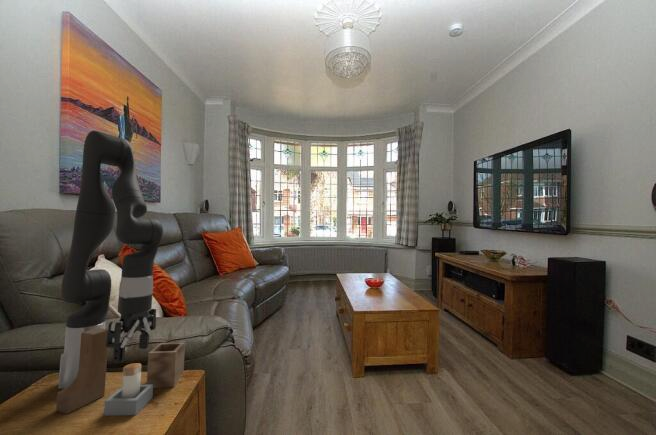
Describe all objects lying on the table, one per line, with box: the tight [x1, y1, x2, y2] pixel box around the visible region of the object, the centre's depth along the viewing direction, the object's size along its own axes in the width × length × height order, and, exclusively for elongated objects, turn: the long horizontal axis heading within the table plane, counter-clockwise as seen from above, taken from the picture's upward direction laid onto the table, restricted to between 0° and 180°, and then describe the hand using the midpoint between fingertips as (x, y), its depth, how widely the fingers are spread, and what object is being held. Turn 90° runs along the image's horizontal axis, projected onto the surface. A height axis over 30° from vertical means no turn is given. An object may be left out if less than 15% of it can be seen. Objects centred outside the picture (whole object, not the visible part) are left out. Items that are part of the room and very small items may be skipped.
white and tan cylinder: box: [121, 362, 142, 398], centre depth 75 cm, size 4×4×9 cm
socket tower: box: [146, 342, 186, 389], centre depth 88 cm, size 8×8×10 cm
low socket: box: [103, 383, 154, 416], centre depth 75 cm, size 8×8×4 cm
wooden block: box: [55, 328, 109, 415], centre depth 76 cm, size 9×4×18 cm, turn 162°
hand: (131, 354), depth 75 cm, fingers open, 8 cm apart
